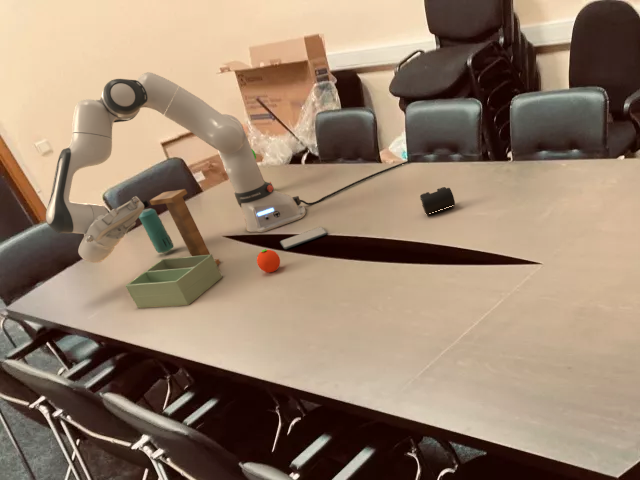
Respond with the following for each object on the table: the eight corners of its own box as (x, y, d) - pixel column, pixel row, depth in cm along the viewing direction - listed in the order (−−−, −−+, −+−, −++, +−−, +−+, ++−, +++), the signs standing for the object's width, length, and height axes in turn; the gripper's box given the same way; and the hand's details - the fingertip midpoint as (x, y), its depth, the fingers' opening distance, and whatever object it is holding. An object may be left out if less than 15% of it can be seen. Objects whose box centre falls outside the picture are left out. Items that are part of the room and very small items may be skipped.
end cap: (428, 219, 231) (422, 199, 227) (423, 213, 237) (417, 193, 233) (457, 209, 232) (451, 189, 229) (451, 203, 238) (446, 184, 234)
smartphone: (327, 232, 239) (283, 247, 235) (328, 235, 240) (285, 250, 236) (321, 226, 246) (279, 241, 242) (322, 228, 246) (280, 243, 243)
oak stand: (186, 274, 238) (149, 200, 224) (199, 264, 244) (163, 192, 230) (208, 272, 235) (171, 197, 221) (220, 262, 241) (185, 189, 227)
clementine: (260, 270, 226) (251, 249, 222) (281, 262, 228) (273, 242, 224) (263, 278, 220) (253, 257, 216) (285, 270, 221) (276, 249, 217)
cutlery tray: (138, 308, 223) (125, 285, 218) (174, 280, 236) (162, 258, 232) (188, 305, 215) (176, 281, 211) (222, 276, 229) (211, 254, 225)
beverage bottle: (170, 255, 259) (143, 203, 248) (155, 257, 261) (127, 206, 250) (179, 247, 264) (153, 196, 254) (165, 250, 266) (138, 199, 255)
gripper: (76, 236, 216) (93, 210, 208) (122, 208, 231) (139, 184, 223) (93, 251, 218) (110, 227, 210) (138, 223, 233) (156, 199, 225)
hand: (126, 204), depth 217 cm, fingers open, 8 cm apart
